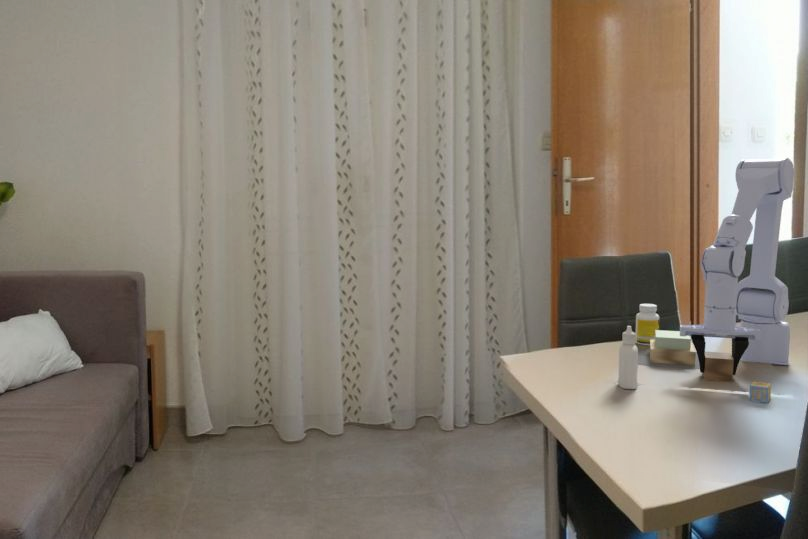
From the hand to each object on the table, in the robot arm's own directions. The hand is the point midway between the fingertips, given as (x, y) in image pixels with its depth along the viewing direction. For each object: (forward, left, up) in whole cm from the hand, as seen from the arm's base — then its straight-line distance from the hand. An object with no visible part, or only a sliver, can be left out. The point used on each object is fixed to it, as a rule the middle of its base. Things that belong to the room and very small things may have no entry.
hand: (717, 372), depth 133 cm
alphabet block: (-6, +11, -2) cm, 13 cm away
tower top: (+8, -12, +2) cm, 15 cm away
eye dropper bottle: (+17, +9, -2) cm, 19 cm away
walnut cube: (0, 0, -1) cm, 1 cm away
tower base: (+8, -12, -1) cm, 14 cm away
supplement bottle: (+13, -26, -2) cm, 29 cm away
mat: (+8, -12, -1) cm, 14 cm away
